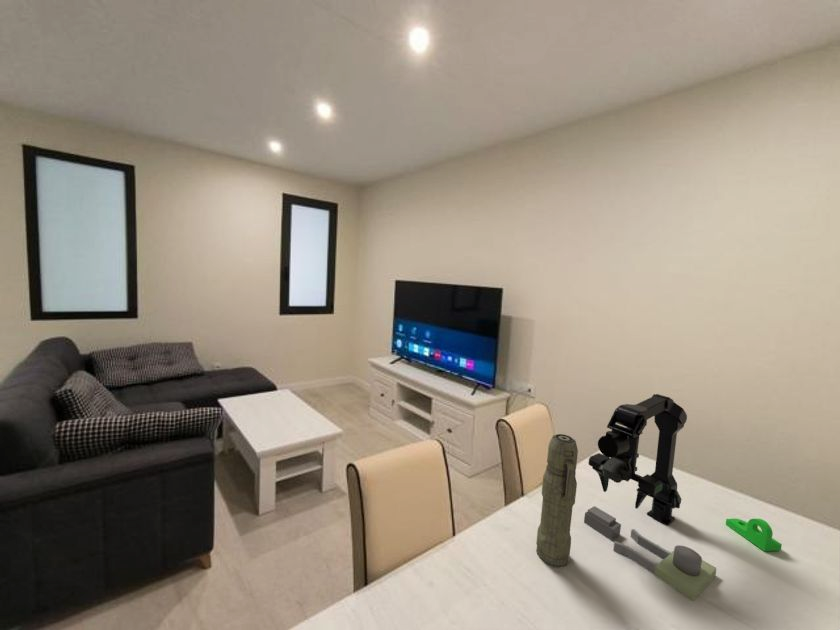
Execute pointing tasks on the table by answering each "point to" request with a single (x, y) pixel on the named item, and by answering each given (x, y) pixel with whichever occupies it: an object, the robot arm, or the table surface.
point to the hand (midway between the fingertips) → (620, 499)
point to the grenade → (557, 501)
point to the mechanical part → (755, 533)
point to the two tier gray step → (602, 523)
